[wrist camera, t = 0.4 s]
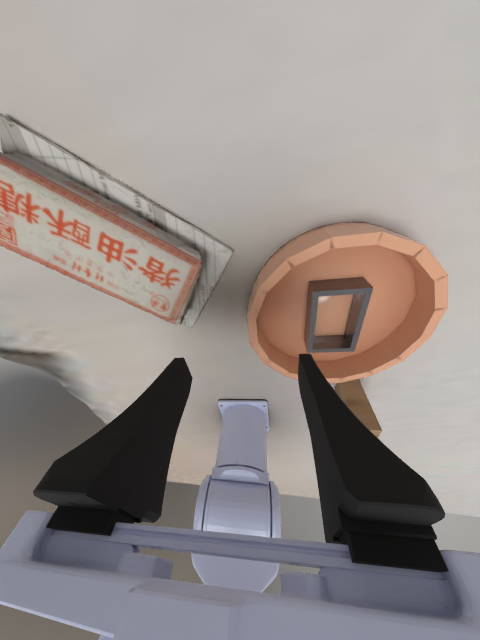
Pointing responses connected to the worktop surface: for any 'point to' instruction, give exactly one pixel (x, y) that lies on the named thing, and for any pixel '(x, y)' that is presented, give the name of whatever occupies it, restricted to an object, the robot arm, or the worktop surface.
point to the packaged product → (102, 230)
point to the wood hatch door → (358, 404)
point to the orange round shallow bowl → (347, 299)
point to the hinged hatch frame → (355, 318)
